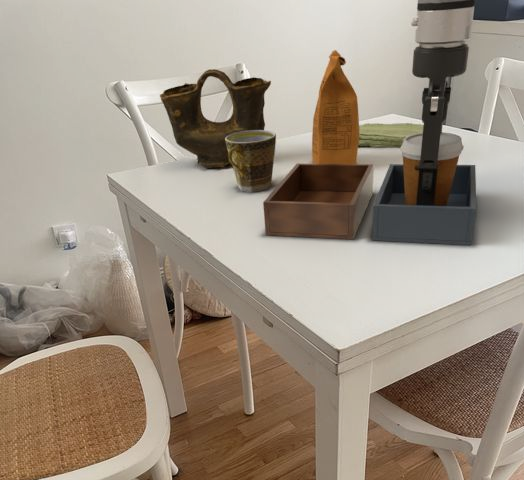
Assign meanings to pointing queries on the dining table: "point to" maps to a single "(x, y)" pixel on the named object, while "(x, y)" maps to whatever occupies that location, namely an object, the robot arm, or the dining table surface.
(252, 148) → the ceramic cup
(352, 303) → the dining table surface
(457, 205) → the grey bin
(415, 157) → the disposable coffee cup
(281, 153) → the dining table surface
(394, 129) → the washcloth
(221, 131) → the pottery vessel
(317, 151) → the coffee package
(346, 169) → the wood bin
